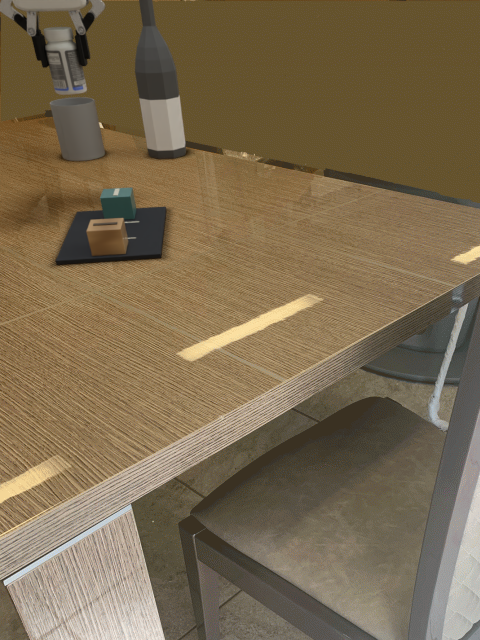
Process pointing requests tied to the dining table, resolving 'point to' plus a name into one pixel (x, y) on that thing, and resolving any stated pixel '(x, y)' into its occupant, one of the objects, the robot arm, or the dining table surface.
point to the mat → (140, 233)
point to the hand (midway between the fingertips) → (65, 64)
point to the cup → (78, 128)
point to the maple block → (107, 236)
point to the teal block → (118, 203)
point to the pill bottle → (64, 61)
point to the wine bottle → (158, 90)
